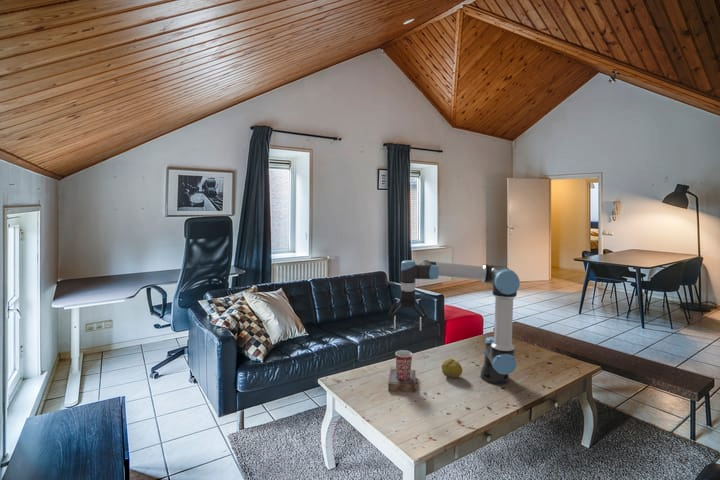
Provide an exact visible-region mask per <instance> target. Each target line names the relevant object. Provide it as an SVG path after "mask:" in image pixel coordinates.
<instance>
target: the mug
mask: <svg viewBox="0 0 720 480" xmlns="http://www.w3.org/2000/svg"><path fill="white" fill-rule="evenodd" d="M394 355H395V369H396V377H397V379H399V380H403V381H405V380H409V379H410V372H411V370H412V369H411V368H412V360H413V352H411V351H409V350H404V349H400V350H397V351H395V354H394Z"/></svg>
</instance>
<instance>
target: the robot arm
mask: <svg viewBox="0 0 720 480" xmlns="http://www.w3.org/2000/svg"><path fill="white" fill-rule="evenodd" d="M439 277H447V278H457V279H466V280H477V281H481V282H482V283H487V284H491V285H492V295H493V297H495V300H494V301H495V302H494V330H493V331H494V332H493V333H494V335H493V336H487V337H486V338H485V341H484V362H483V365H482V368H481V370H480V375H479V376H480V378H481V379H482V380H483V381H485V382H487V383H490V384H494V385H504V384H507V383H509V381H510V375H509V374H511V373H513V372H514V371H515V370H516V369H517V365H518V364H517V359H516V357H515V350H516V348H515V346H514V345H513V343H512V342H513V319H514V318H513V317H514V316H513V315H514V313H513V312H514V299H515V298H516V297H517V293H518V292H517V291H518V290H519V289H520V286H521V282H520V281H521V280H520V277H519V276H518V275H517V273H516V272H515V271H514V270H512V269H510V268H508V267H507V266H504V265H495V264H483V265H481V266H480V265H472V264H461V263H450V262H441V261H430V260H428V259H423V260H421V261H420V262H419V264H417V263H416V261H415V260H410V259H409V260H407V259H405V260H402V261H401V263H400V298H397V297H395V298H394V303H393V305H392V306H391V308H390V309H389V311H388V316H390V317H391V323H393V329H394V330H396V329H397V328H396V327H397V326H396V325H397V323H396V318H397V316H396V315H397V314H398V313H399V311H400V310H402V308H406V309H407V308H409V309H411V308H412V309H414V311H416V314H418V316H419V331H422V325H423V324H424V322H425V319H424V318H427V317H428V313H427V311H426V309H425V307H424V306H423V303H422V299H421V298H419V299H416V280H431V281H432V280H438V279H439ZM399 302H400V305H399V306H398V307H397V309H395V308H396V306H397V303H399ZM416 304H418V305H419V307H420V309H419V308H418V307H417V305H416ZM394 309H395V310H394ZM420 310H421V311H422V312H421V311H420ZM393 311H394V312H393Z"/></svg>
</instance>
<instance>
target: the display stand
mask: <svg viewBox="0 0 720 480" xmlns="http://www.w3.org/2000/svg"><path fill="white" fill-rule="evenodd" d="M387 385H388V386H387V387H388V388H387V389H388V391H387V392H399V393H400V392H401V393H410V394H411V393H414V394H416V369H411V372H410V379H409V380H405V381H403V380H399V379H397V377H396V368H390V369H389V378H388V383H387Z"/></svg>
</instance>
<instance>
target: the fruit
mask: <svg viewBox="0 0 720 480" xmlns="http://www.w3.org/2000/svg"><path fill="white" fill-rule="evenodd" d="M441 372H442V373H443V375H444V376H445V377H447V378H451V379H452V378H458V377H460V376H461V375H462V374H463V368H462V365H461V364H460V362H459V361H456V359H453V358H448V359H446V360H444V361H443V362H442V364H441Z"/></svg>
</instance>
